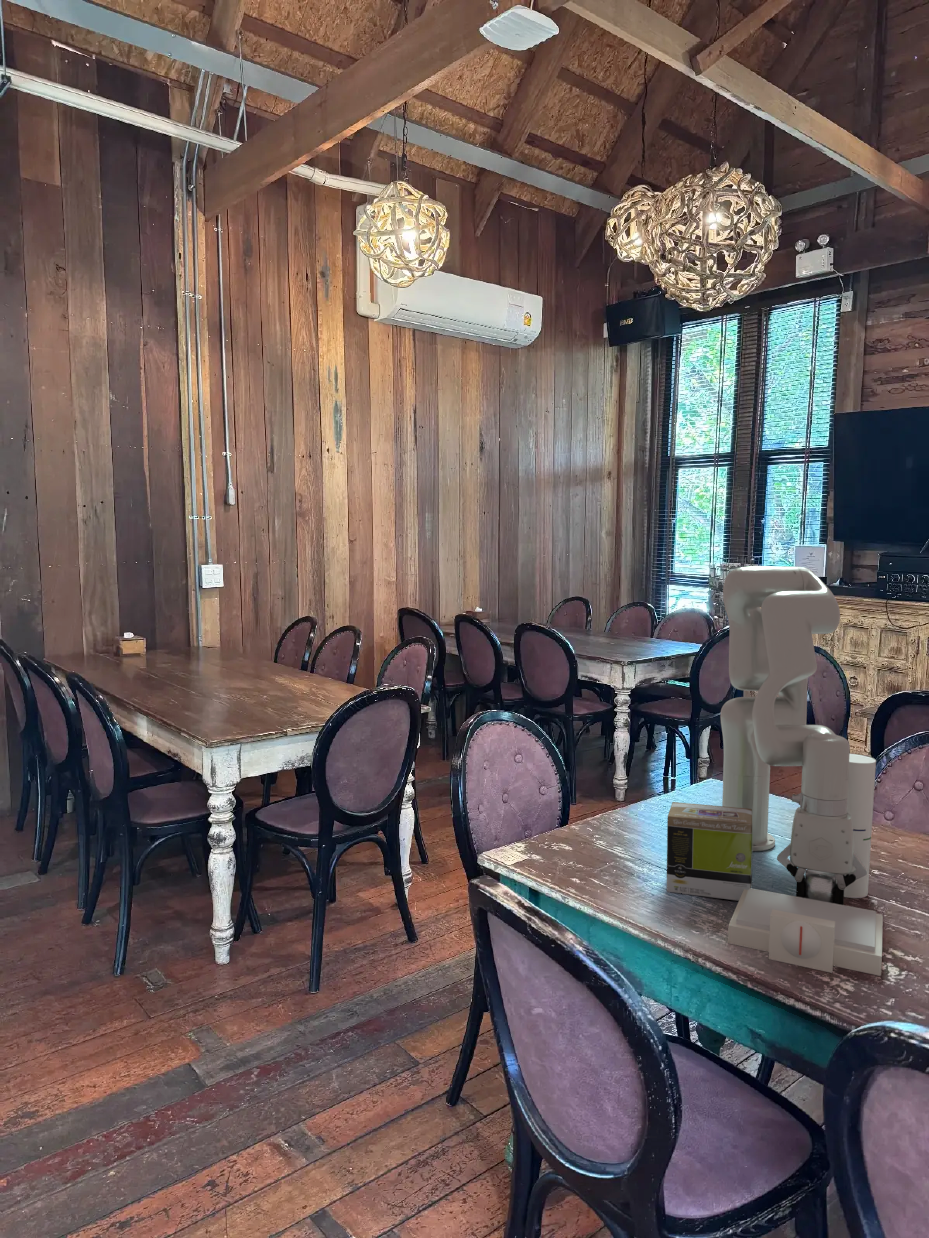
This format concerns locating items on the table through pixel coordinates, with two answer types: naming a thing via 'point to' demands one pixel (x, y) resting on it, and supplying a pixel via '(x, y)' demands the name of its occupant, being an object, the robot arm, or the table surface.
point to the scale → (808, 931)
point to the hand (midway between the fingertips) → (819, 903)
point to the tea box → (709, 850)
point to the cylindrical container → (861, 816)
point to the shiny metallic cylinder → (820, 886)
